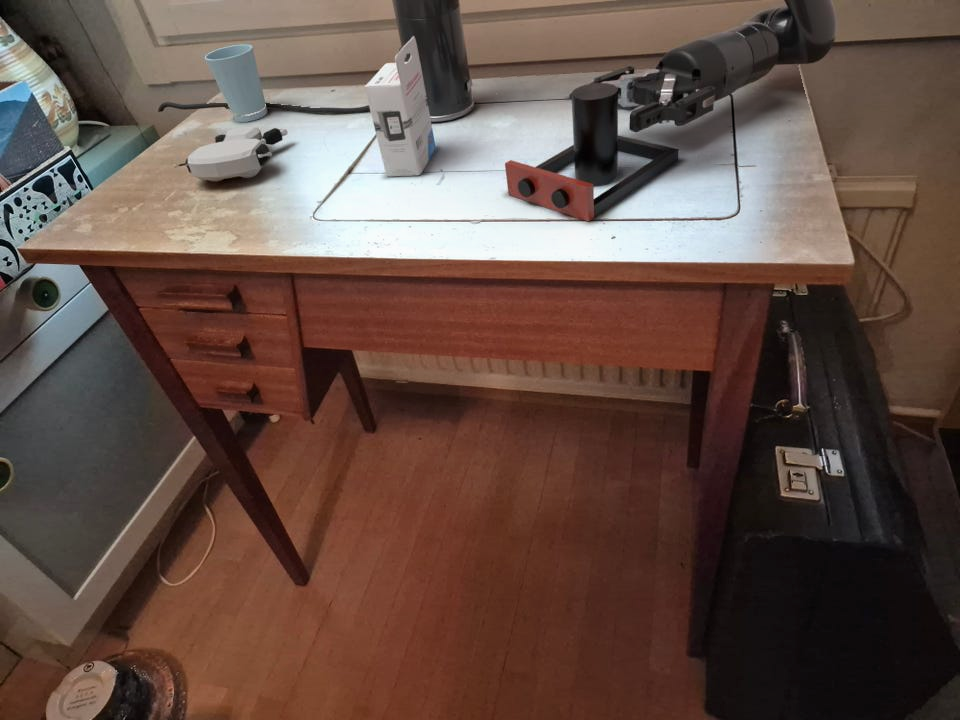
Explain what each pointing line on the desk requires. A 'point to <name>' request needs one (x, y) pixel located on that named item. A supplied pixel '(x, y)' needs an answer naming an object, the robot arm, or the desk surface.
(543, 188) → the stove
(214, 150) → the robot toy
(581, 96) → the can
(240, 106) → the cup
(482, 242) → the desk surface
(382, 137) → the ink box
